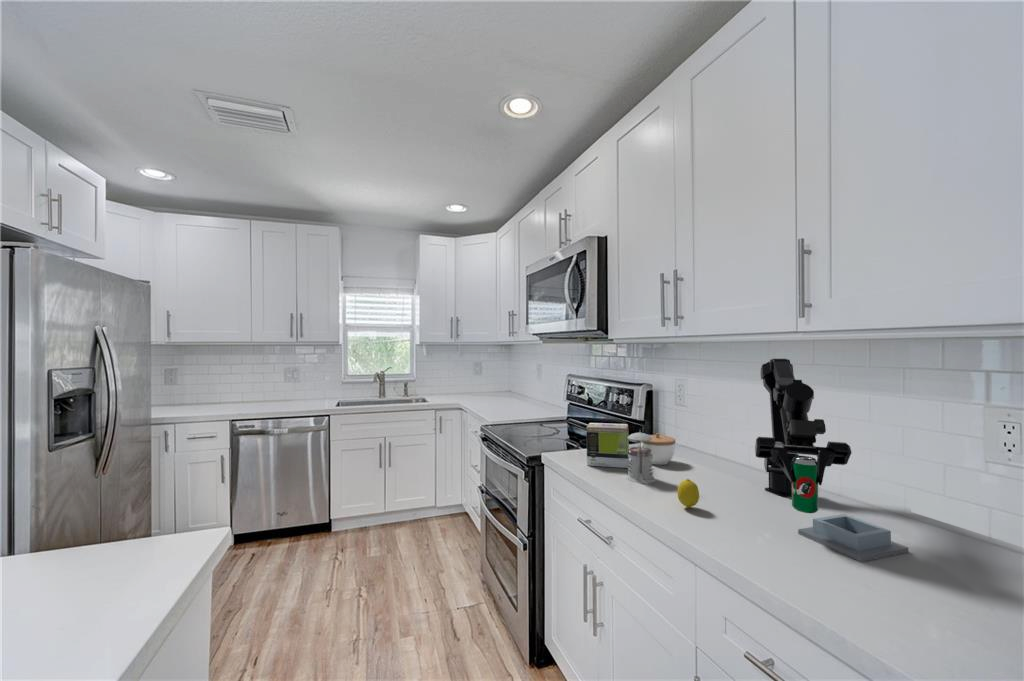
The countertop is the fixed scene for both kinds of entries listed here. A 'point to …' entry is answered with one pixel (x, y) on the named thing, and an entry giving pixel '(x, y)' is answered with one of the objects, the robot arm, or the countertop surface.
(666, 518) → the countertop surface
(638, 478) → the french press
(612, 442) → the tea box
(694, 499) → the lemon
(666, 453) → the lidded bowl
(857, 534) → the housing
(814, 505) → the soda can
